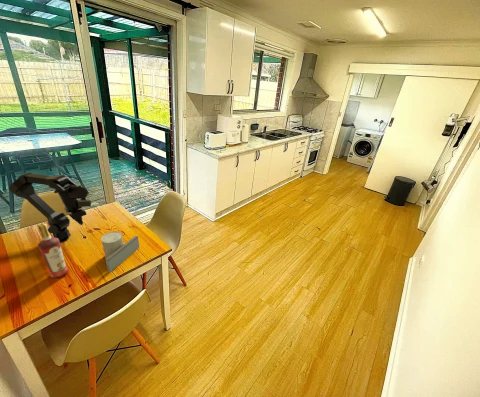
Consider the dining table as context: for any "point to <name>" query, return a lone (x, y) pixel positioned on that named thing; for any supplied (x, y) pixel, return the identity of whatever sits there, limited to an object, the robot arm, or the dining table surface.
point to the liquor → (52, 253)
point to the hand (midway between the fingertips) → (81, 224)
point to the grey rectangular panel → (122, 253)
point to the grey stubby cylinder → (111, 242)
